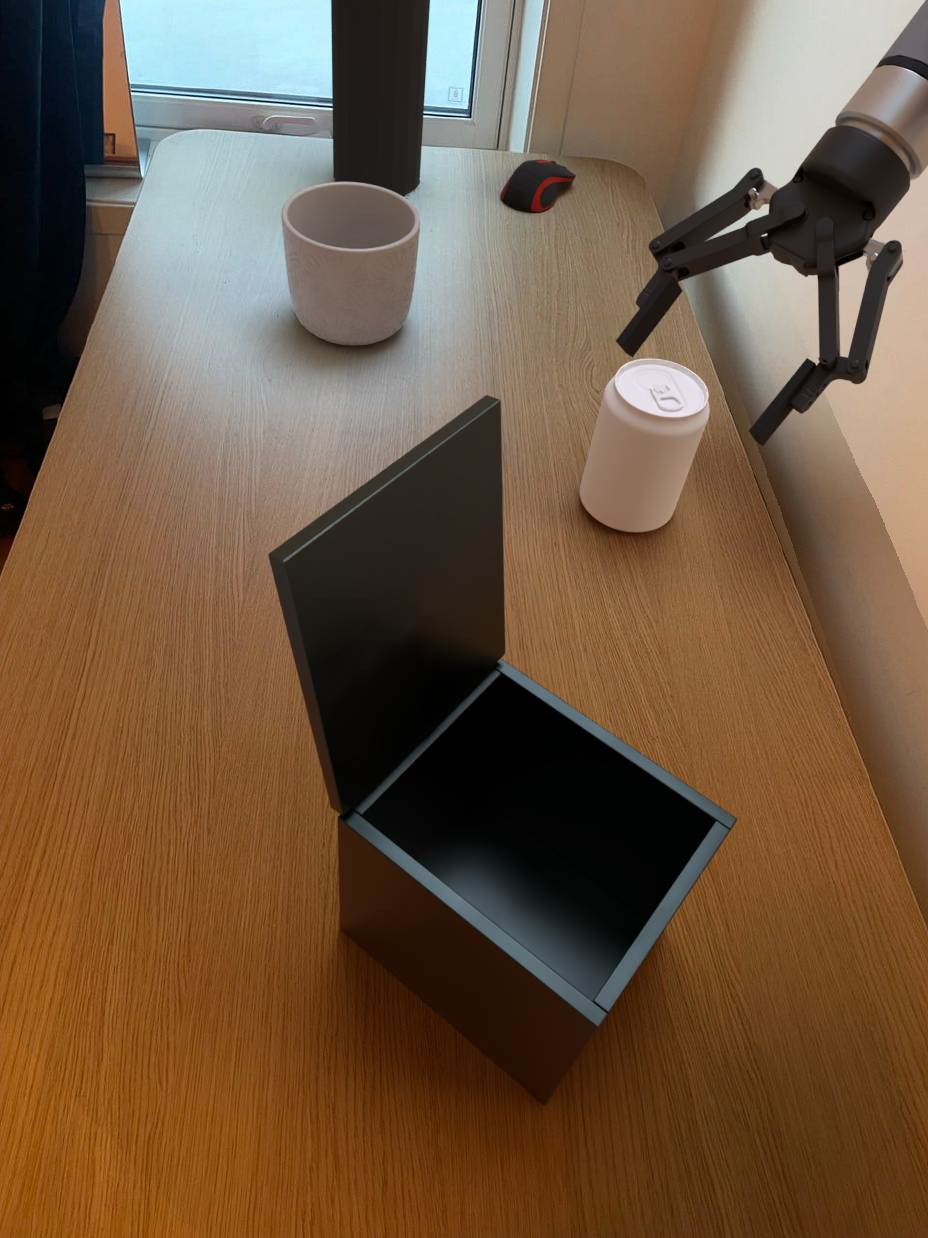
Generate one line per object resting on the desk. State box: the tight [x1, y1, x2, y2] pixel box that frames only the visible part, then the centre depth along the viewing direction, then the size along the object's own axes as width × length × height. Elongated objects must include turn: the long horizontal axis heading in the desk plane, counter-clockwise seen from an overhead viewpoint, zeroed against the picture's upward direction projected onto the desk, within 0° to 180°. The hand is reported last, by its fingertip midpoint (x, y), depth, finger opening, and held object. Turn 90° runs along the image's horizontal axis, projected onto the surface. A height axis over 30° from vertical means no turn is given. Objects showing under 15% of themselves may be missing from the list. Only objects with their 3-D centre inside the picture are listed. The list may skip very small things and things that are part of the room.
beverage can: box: [579, 358, 711, 533], centre depth 75 cm, size 8×8×12 cm
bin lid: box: [267, 394, 506, 815], centre depth 41 cm, size 15×13×1 cm
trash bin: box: [337, 658, 738, 1107], centre depth 50 cm, size 15×13×14 cm
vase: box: [330, 0, 431, 196], centre depth 100 cm, size 10×10×30 cm
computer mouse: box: [500, 159, 577, 213], centre depth 111 cm, size 6×11×4 cm, turn 149°
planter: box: [280, 181, 421, 346], centre depth 88 cm, size 12×12×11 cm
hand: (687, 392), depth 74 cm, fingers open, 13 cm apart
